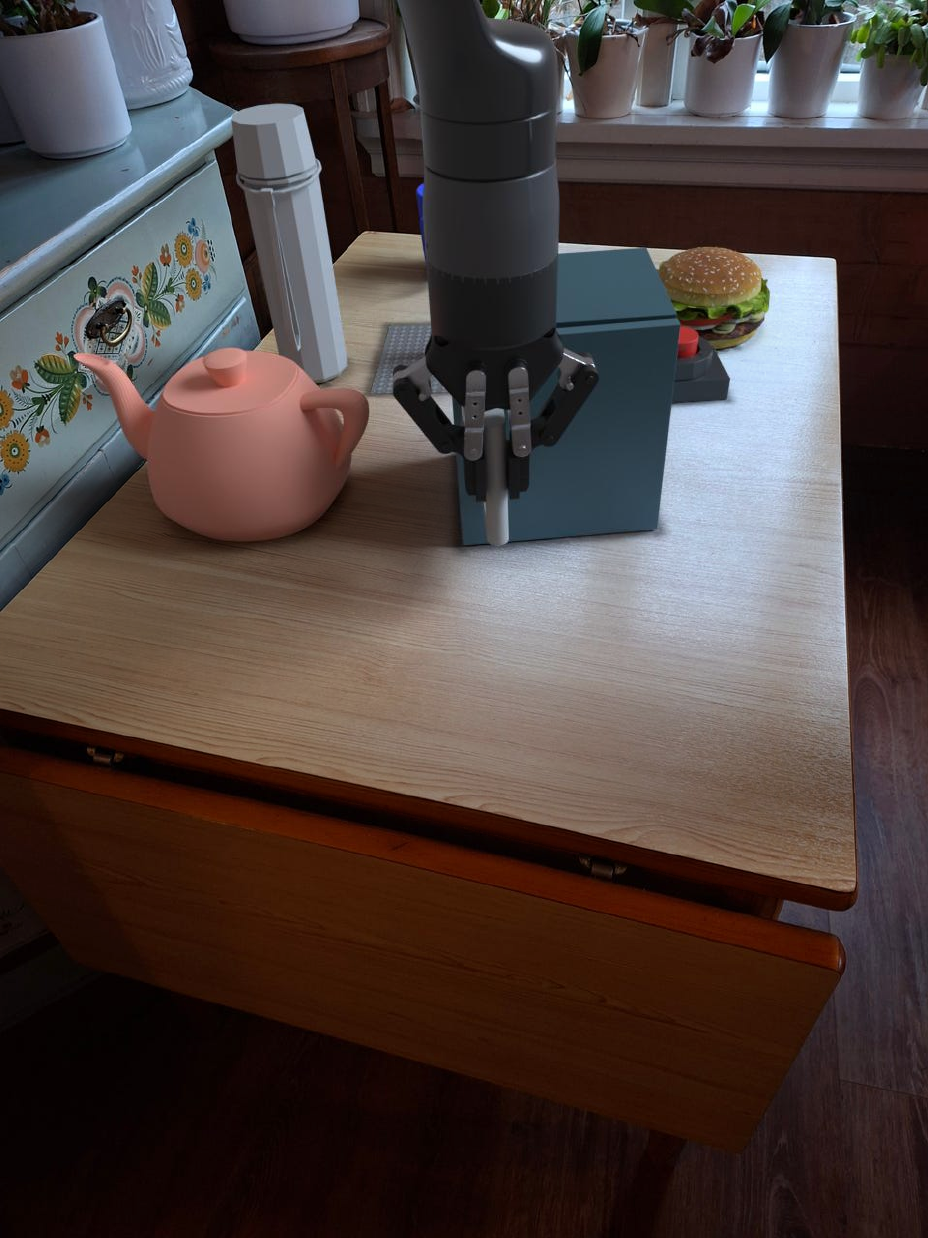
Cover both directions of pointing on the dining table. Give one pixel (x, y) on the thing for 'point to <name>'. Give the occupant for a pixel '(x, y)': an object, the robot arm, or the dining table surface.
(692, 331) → the red push button
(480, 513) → the cupboard door
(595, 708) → the dining table surface
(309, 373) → the water bottle
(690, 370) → the button box
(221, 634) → the dining table surface
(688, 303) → the food
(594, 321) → the cupboard
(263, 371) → the teapot
